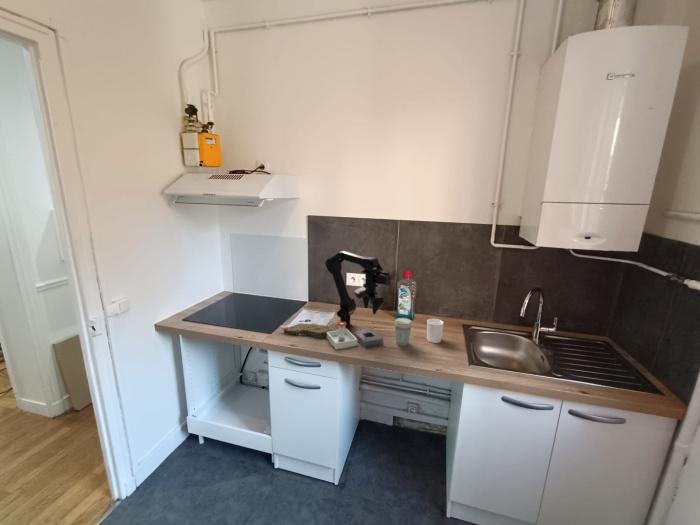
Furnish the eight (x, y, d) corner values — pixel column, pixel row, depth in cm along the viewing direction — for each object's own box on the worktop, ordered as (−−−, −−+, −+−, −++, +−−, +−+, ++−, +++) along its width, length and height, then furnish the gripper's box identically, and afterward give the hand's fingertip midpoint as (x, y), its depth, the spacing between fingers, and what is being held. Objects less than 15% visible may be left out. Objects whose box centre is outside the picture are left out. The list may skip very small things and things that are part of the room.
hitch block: (354, 337, 157) (354, 331, 157) (371, 333, 161) (372, 328, 161) (364, 347, 147) (365, 341, 146) (383, 343, 151) (383, 338, 150)
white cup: (431, 344, 150) (432, 325, 148) (423, 337, 158) (424, 319, 156) (445, 342, 153) (446, 324, 150) (436, 335, 160) (438, 318, 158)
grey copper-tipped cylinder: (335, 339, 153) (336, 321, 151) (344, 337, 155) (344, 320, 153) (339, 343, 150) (339, 325, 148) (347, 341, 151) (347, 323, 149)
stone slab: (334, 328, 166) (334, 320, 165) (330, 341, 155) (329, 333, 154) (287, 327, 170) (286, 319, 168) (280, 340, 159) (279, 332, 157)
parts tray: (326, 337, 156) (326, 332, 156) (346, 334, 161) (346, 328, 160) (335, 349, 144) (335, 343, 144) (357, 345, 149) (357, 339, 148)
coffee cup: (390, 340, 154) (391, 318, 151) (405, 338, 157) (406, 316, 154) (398, 348, 146) (400, 325, 143) (414, 346, 149) (415, 322, 146)
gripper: (349, 279, 161) (348, 307, 164) (364, 289, 144) (363, 320, 148) (368, 277, 165) (367, 304, 169) (385, 286, 149) (384, 316, 152)
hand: (369, 311), depth 159 cm, fingers open, 9 cm apart
